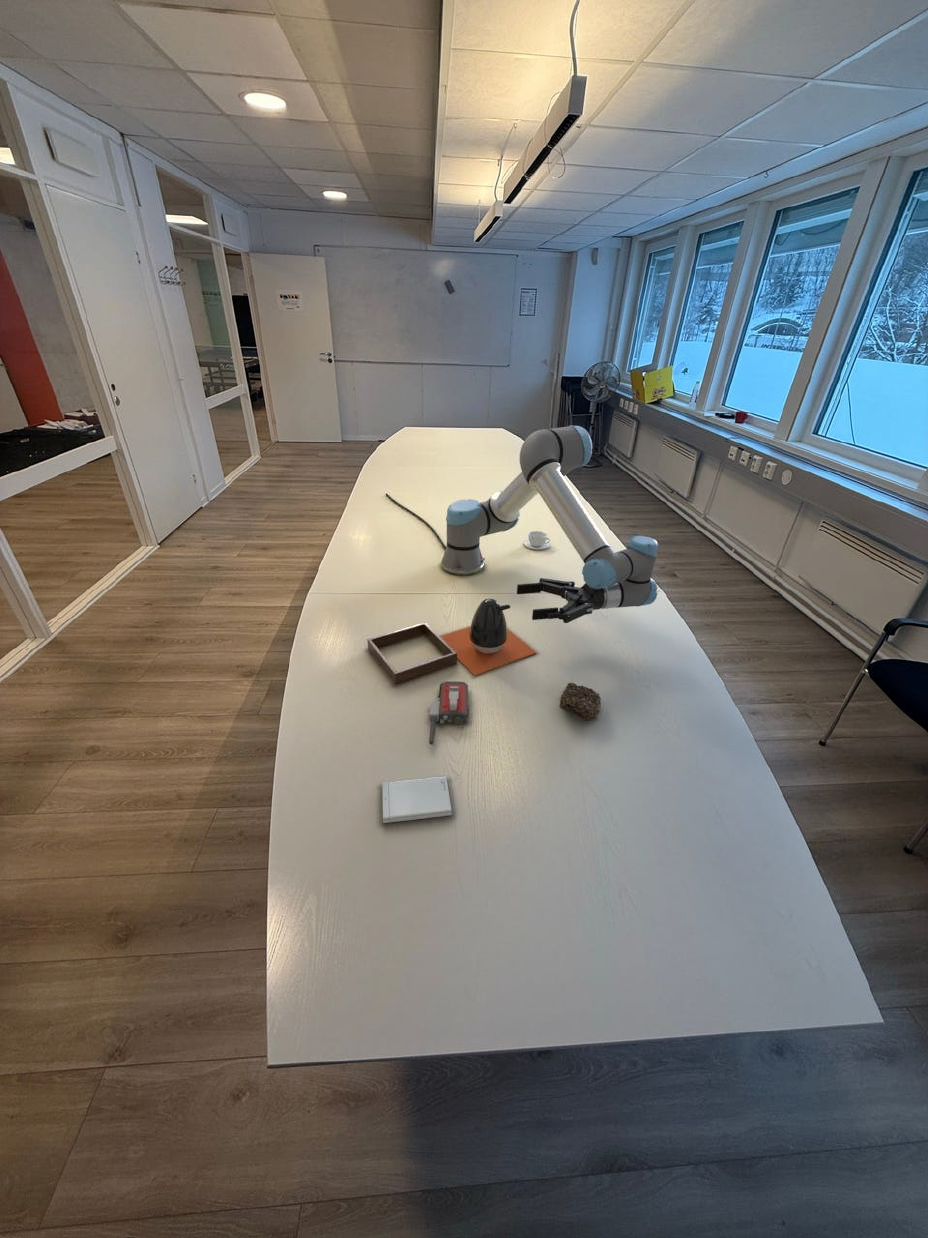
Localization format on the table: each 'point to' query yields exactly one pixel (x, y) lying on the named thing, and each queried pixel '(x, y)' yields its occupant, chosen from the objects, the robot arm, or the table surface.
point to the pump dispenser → (489, 627)
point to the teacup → (537, 540)
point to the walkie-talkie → (449, 705)
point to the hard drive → (415, 799)
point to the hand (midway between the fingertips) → (524, 601)
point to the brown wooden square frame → (416, 670)
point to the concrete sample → (581, 701)
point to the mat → (482, 661)
